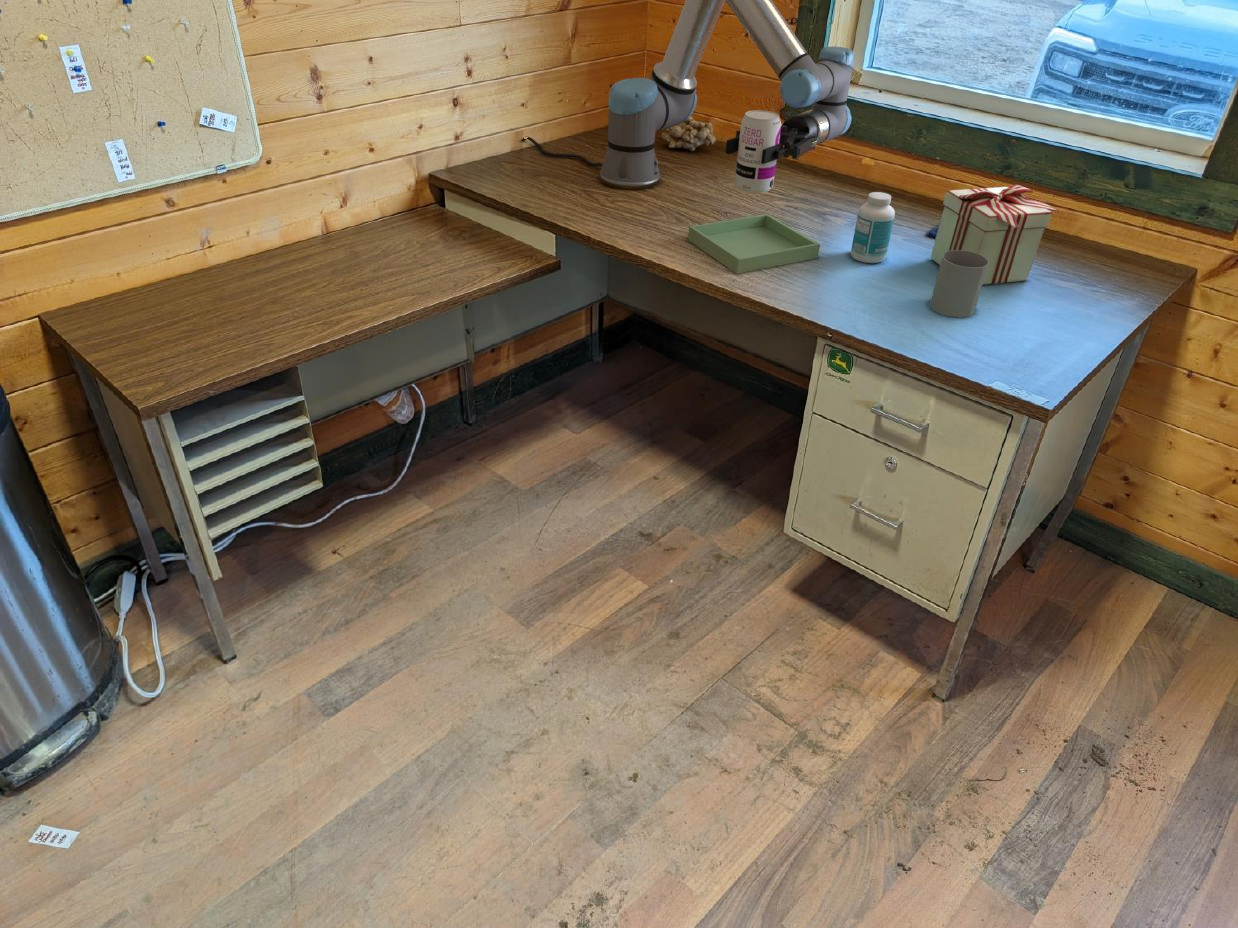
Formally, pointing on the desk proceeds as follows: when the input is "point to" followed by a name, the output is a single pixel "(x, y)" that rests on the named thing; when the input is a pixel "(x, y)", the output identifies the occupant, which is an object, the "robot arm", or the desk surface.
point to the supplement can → (756, 151)
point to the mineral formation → (689, 134)
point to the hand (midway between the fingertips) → (745, 152)
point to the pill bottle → (873, 229)
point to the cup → (958, 283)
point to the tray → (753, 243)
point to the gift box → (993, 229)
